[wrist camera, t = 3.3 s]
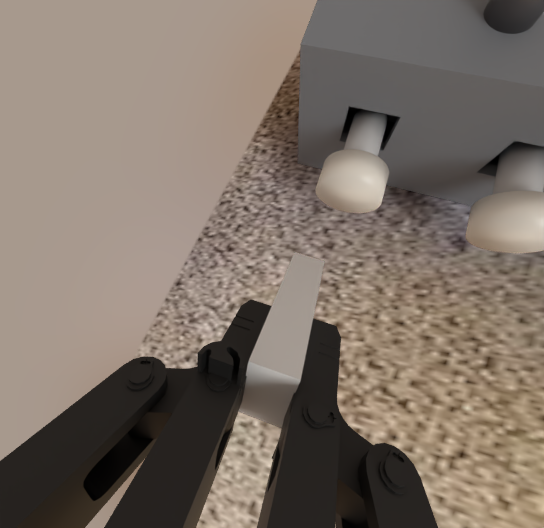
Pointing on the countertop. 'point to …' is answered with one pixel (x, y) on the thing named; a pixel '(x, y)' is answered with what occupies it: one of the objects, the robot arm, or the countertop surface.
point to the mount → (421, 90)
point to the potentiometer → (513, 14)
